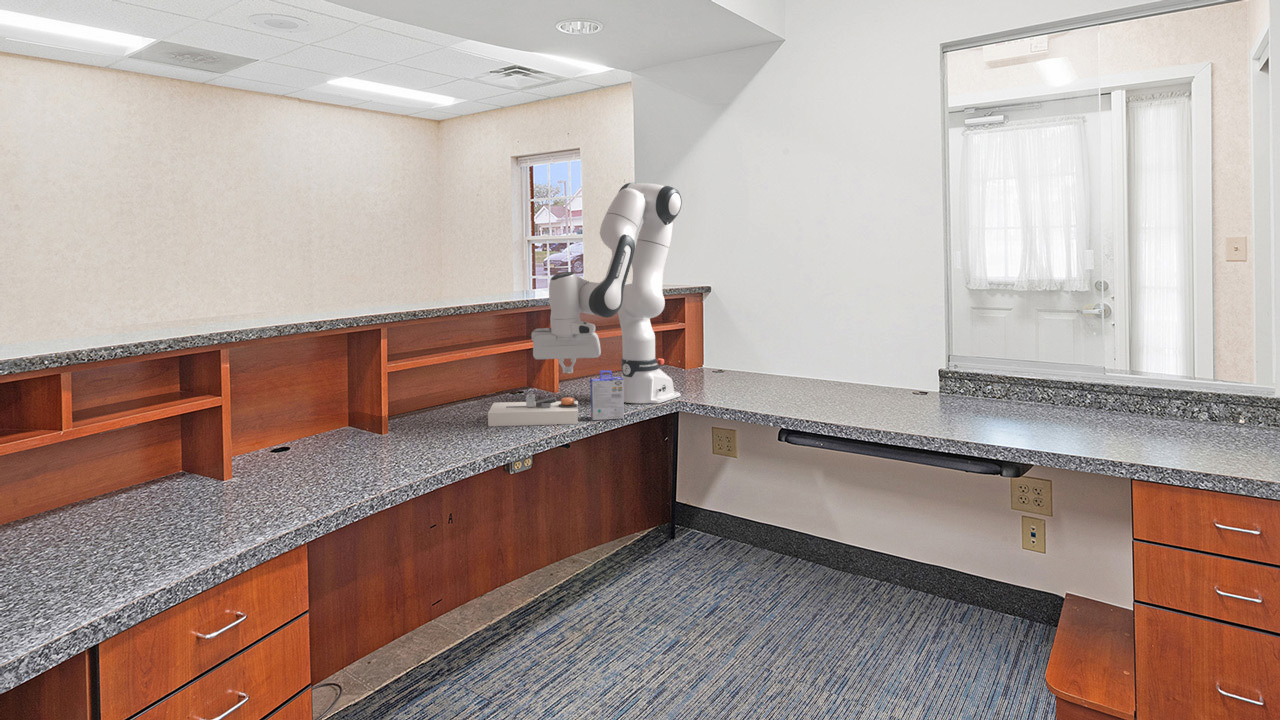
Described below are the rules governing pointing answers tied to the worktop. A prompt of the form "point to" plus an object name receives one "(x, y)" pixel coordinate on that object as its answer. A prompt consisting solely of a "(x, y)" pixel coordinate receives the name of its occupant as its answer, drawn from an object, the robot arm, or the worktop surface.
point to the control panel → (532, 414)
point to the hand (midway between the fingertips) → (568, 372)
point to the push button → (567, 401)
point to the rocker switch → (546, 401)
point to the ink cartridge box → (607, 397)
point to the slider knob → (530, 400)
